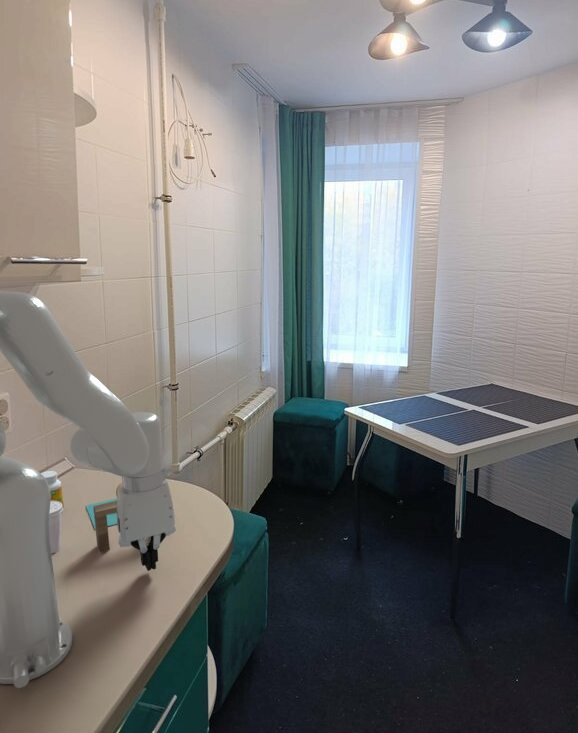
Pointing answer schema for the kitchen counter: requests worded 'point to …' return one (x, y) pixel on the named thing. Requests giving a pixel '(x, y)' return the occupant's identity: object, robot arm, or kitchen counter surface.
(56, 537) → the smoothie
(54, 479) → the supplement bottle
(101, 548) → the bridge
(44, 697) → the kitchen counter surface
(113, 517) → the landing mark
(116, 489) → the ball
